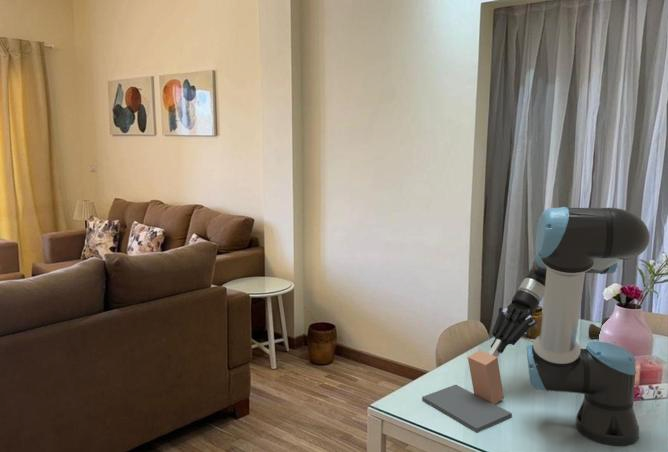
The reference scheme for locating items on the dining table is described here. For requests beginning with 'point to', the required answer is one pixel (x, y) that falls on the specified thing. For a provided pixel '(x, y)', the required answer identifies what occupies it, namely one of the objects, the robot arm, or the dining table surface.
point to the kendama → (595, 329)
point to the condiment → (532, 331)
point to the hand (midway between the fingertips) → (490, 359)
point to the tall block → (486, 376)
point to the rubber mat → (467, 408)
